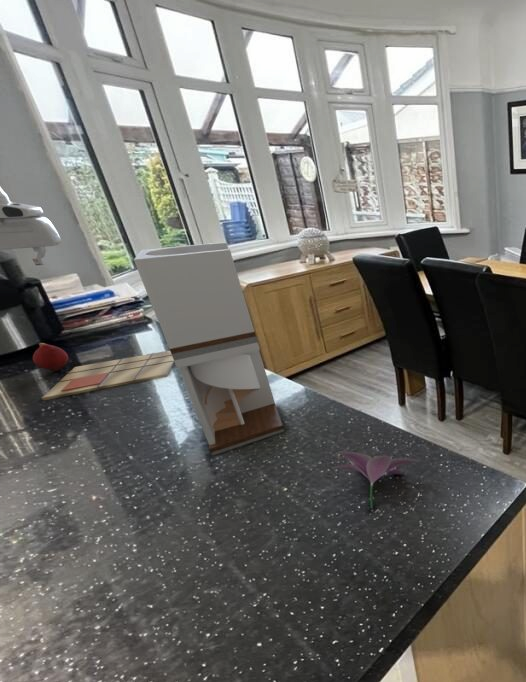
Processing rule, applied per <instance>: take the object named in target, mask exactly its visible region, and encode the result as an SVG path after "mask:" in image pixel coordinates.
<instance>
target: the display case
mask: <svg viewBox="0 0 526 682" xmlns="http://www.w3.org/2000/svg"><path fill="white" fill-rule="evenodd" d="M133 261H134V264H135V267H136V269H137V271H138V274H139V277H140V279H141V281H142V284H143V287H144V289H145V292H146V294H147V296H148V299H149V302H150V305H151V306H152V310H153V312H154V314H155V316H156V319H157V322H158V324H159V326H160V329H161V332H162V334H163V337H164V339H165V341H166V344H167V347H168V349H169V351H170V352H171V354H172V357H173V359H174V365H175V367H176V369H178V371H179V374H180V376H181V378H182V381H183V383H184V387H185V388H186V391H187V394H188V396H189V398H190V401H191V403H192V406H193V409H194V411H195V414H196V417H197V418H198V421H199V423H200V426H201V429H202V431H203V434H204V437H205V438H206V441H207V444H208V447H209V448H208V449H209V452H210V454H211V456H215V455H218V454H222V453H225V452H227V451H230V450H232V449H233V450H234V449H236V448H239V447H242V446H245V445H249V444H251V443H254V442H257V441H260V440H263V439H266V438H270V437H272V436H276V435H278V434H281V433H284V432H285V428H284V425H283V422H282V420H281V416H280V414H279V411H278V408H277V404H276V401H275V399H274V395H273V391H272V389H271V388H272V387H271V386H270V385H271V384H270V383H269V382H270V381H269V379H268V375H267V371H266V369H265V366H264V362H263V359H262V356H261V352H260V350H261V348H260V345H259V342H258V339H257V335H256V331H255V328H254V325H253V322H252V318H251V315H250V311H249V308H248V306H247V302H246V298H245V295H244V292H243V289H242V285H241V282H240V278H239V276H238V272H237V269H236V265H235V261H234V259H233V255H232V251H231V249H230V248H229V246H228V242H227V241H223V242H222V241H221V242H211V243H201V244H190V245H189V244H188V245H177V246H167V247H158V248H146V249H141V250H140V251H139V252H138V253H137V255H136V256H135V257H134V259H133Z"/></svg>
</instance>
